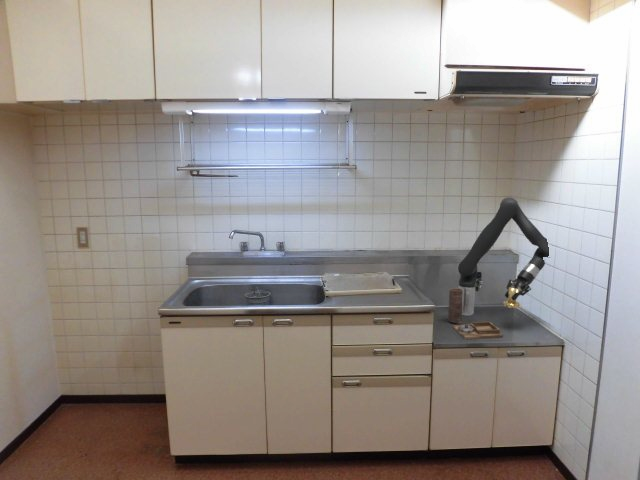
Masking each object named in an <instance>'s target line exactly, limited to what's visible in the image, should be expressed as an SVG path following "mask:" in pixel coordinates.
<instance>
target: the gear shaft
mask: <svg viewBox="0 0 640 480" xmlns="http://www.w3.org/2000/svg"><path fill="white" fill-rule="evenodd" d="M516 291H517V288H516V287H509V292H508V298H507V300H503V307H507V308H508V309H512V308H513V309H517V308H521V303H520V302H519V301H517V299H516V300H512V299H511V297H512V296H513V295H514V294H515V293H516Z"/></svg>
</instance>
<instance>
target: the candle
mask: <svg viewBox="0 0 640 480" xmlns="http://www.w3.org/2000/svg"><path fill="white" fill-rule="evenodd" d="M448 291H449V295H448V297H449V298H448V318H447V319H448V321H449V322H450V323H454V324H459V325H462V323H463V315H462V297H463V289H460V288H459V287H453V288H452V287H451V288H449V290H448Z"/></svg>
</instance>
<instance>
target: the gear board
mask: <svg viewBox="0 0 640 480" xmlns="http://www.w3.org/2000/svg"><path fill="white" fill-rule="evenodd" d="M452 328H453V329H455V331H456V332H457V333H458V334H459V335H460V336H461V337H462V338H463V339H465V340H476V339H478V340H480V339H496V338H497V339H498V338H501V339H502V338H504V337H503V334H502V333H501V331H500V330H501V329H500V328H499V327H497V326H496V325H495V324H494V323H492V322H490V321H476V322H475V321H474V322H469V323H465V324H453V325H452Z"/></svg>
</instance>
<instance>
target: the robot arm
mask: <svg viewBox="0 0 640 480" xmlns="http://www.w3.org/2000/svg"><path fill="white" fill-rule="evenodd" d="M511 219H512V220H513V221H514V222H515V224H516V225H517V226H518V228H519V229H520V231H521V233H522V235H523V236H525V238H526V239H527V240H528V242H529V243H531V245H533V246H535V247H537V248H536V250H535V252H534V254H533V255H532V258H531V259H530V260H529V261H528V263H527V264H526V265H524V267H523V268H522V269H521V271H520V272H519V273H518V274H517V276H516V277H517V278H515V279H514V280H512V279H509V280H508V282H507V285H506V286H505V287H506V289H507V291H506V292H505V294H504V297H505V298H507V299H508V292H509V287H516V288H517V291H516V293H515V294H514V295H513V296H512V297H511V299H512V300H516V301H517V299H518V297H520V296H522V297H523V296H524V295H527V293H529V292H530V291H531V290H532V287H531V286H530V285H531V284H532V283H533V281H534V280H535V279H536V277H538V275H539V273H540V272H541V271H542V269H543V268H544V266H545V265H546V261H545V260H543V257H547V258H549V257H548V256H549V247H548V242H547V237H545V236H544V235H543V234H542V233H541V231H540V230H539V229H538V228H537V227H536V226H535V225H534V224H533V223H532V221H530V220H531V219H529V218H528V217H527V216H526V214H525V213H524V212H523V210H522V208H521V206H520V205H519V203H518V200H517V199H515V198H513V197H508V196H507V197H505V198H504V199H502V200H501V202H500V204H499V208H498V209H497V212H496V214H495V215H494V217H493V218H492V220H491V221H490V222H489V223H488V224H487V225H486V226H485V227H484V228H483V229H482V231H481V232H480V234H478V236H477V238H476V239H475V242H474V243H473V245H472V247H471V248H470V250H469V252H468V253H467V254H466V255H465V257H464V258H463V259H462V260H461V261H460V262H459V263H458V266H457V269H458V271H457V272H458V273H459V274H460V277H459V280H458V288H460V289H463V297H462V316H469V317H470V316H473V315H474V312H475V297H476V296H475V294H476V282H477V277H478V263H480V260H481V259H482V258H483V257H484V256H485V255H486V254H487V253H488V252H489V251H490V249H492V247H494V245H495V243H496V242H497V240H498V239H499V237H500V236H501V234H502V232H503V230H504V228H505V227H506V225H507V224H508V223H509V222H510V221H511Z"/></svg>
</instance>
